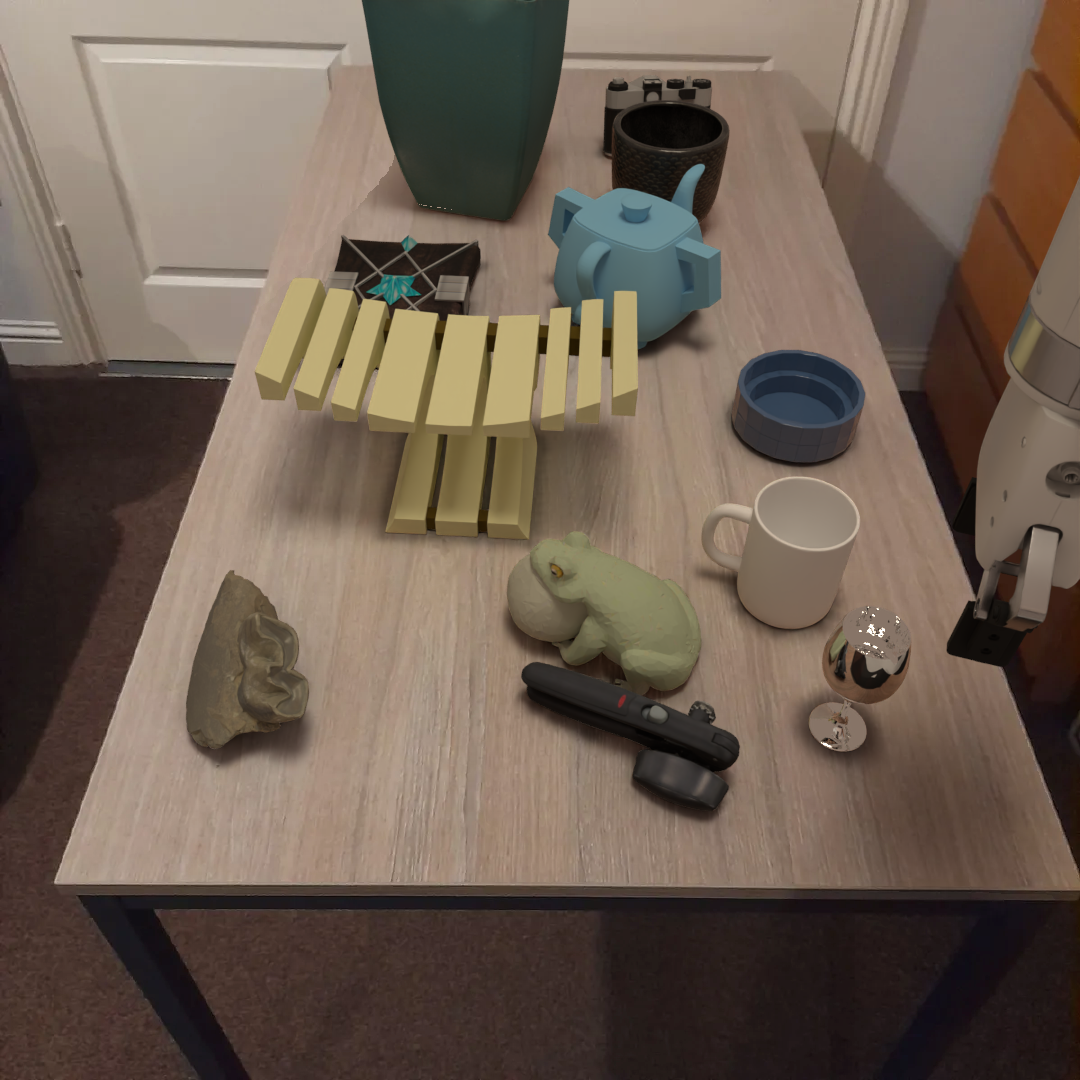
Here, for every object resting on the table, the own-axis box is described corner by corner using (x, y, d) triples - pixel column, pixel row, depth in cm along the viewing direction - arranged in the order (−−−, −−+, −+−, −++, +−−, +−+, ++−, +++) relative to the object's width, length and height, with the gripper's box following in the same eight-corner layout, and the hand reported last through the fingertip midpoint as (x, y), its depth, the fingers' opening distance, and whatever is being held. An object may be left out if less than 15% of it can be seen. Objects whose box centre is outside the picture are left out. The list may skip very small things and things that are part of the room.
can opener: (748, 758, 76) (761, 717, 71) (709, 831, 72) (720, 792, 67) (548, 657, 82) (549, 614, 78) (501, 719, 78) (500, 677, 74)
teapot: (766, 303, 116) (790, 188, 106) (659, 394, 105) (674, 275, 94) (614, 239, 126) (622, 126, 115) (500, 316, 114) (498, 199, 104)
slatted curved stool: (622, 428, 101) (636, 274, 88) (622, 543, 90) (637, 388, 77) (328, 414, 102) (299, 260, 89) (293, 527, 91) (254, 371, 78)
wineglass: (784, 722, 78) (816, 627, 69) (831, 683, 80) (868, 587, 71) (843, 773, 75) (885, 681, 66) (890, 731, 77) (937, 636, 68)
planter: (737, 223, 129) (753, 124, 119) (669, 265, 122) (681, 164, 112) (652, 185, 135) (662, 89, 126) (584, 223, 128) (588, 124, 119)
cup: (824, 643, 83) (852, 562, 76) (683, 604, 86) (697, 522, 78) (838, 572, 88) (866, 490, 81) (705, 538, 91) (721, 455, 84)
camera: (694, 135, 148) (700, 62, 142) (710, 156, 139) (717, 78, 133) (596, 138, 147) (598, 64, 141) (605, 159, 139) (608, 81, 133)
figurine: (534, 565, 89) (534, 484, 81) (713, 626, 84) (730, 546, 77) (483, 649, 82) (479, 569, 75) (674, 720, 78) (688, 642, 70)
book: (460, 376, 107) (457, 337, 103) (303, 369, 107) (295, 330, 104) (481, 265, 121) (480, 228, 118) (344, 259, 122) (338, 222, 118)
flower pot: (569, 168, 138) (577, -61, 118) (533, 242, 125) (534, -1, 104) (432, 150, 141) (415, -76, 121) (382, 221, 128) (354, -19, 108)
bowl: (858, 401, 104) (870, 362, 101) (846, 478, 97) (859, 439, 93) (741, 378, 107) (749, 340, 103) (721, 452, 99) (728, 413, 95)
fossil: (344, 717, 80) (317, 706, 71) (221, 772, 79) (177, 769, 69) (281, 560, 83) (247, 528, 74) (162, 611, 82) (112, 586, 73)
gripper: (1218, 494, 39) (1049, 732, 51) (1169, 263, 50) (1041, 504, 63) (1016, 454, 40) (900, 694, 53) (1012, 238, 52) (917, 479, 64)
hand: (976, 591), depth 58 cm, fingers open, 9 cm apart
